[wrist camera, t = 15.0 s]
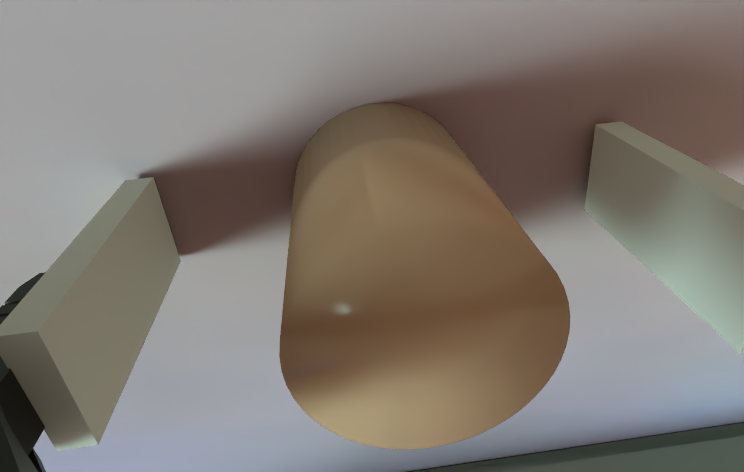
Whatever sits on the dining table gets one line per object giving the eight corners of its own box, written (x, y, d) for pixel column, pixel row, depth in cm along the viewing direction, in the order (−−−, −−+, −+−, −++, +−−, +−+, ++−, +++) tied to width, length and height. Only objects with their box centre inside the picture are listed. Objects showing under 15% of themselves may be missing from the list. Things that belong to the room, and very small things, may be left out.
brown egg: (280, 114, 13) (250, 244, 7) (464, 92, 14) (587, 201, 7) (308, 270, 16) (304, 465, 10) (464, 250, 16) (556, 428, 10)
